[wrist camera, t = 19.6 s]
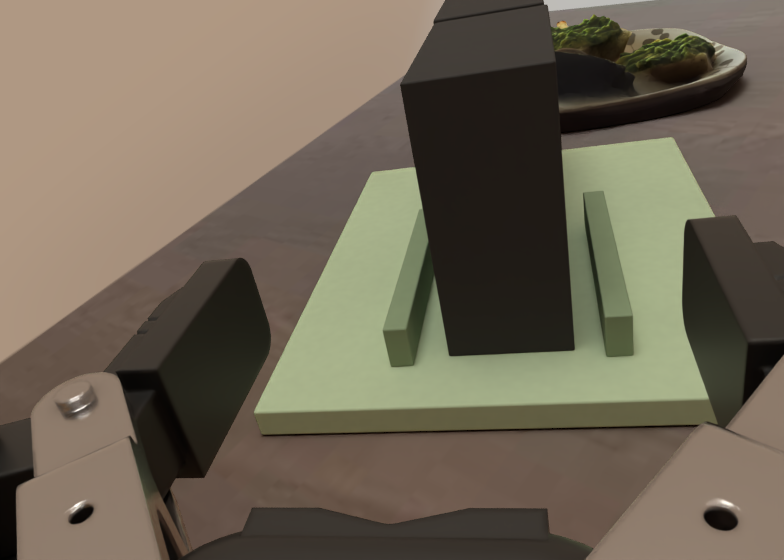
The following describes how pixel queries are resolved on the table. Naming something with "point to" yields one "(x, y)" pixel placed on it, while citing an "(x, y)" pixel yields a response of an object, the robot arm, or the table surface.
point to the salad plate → (636, 72)
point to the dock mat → (513, 370)
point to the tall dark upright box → (493, 181)
